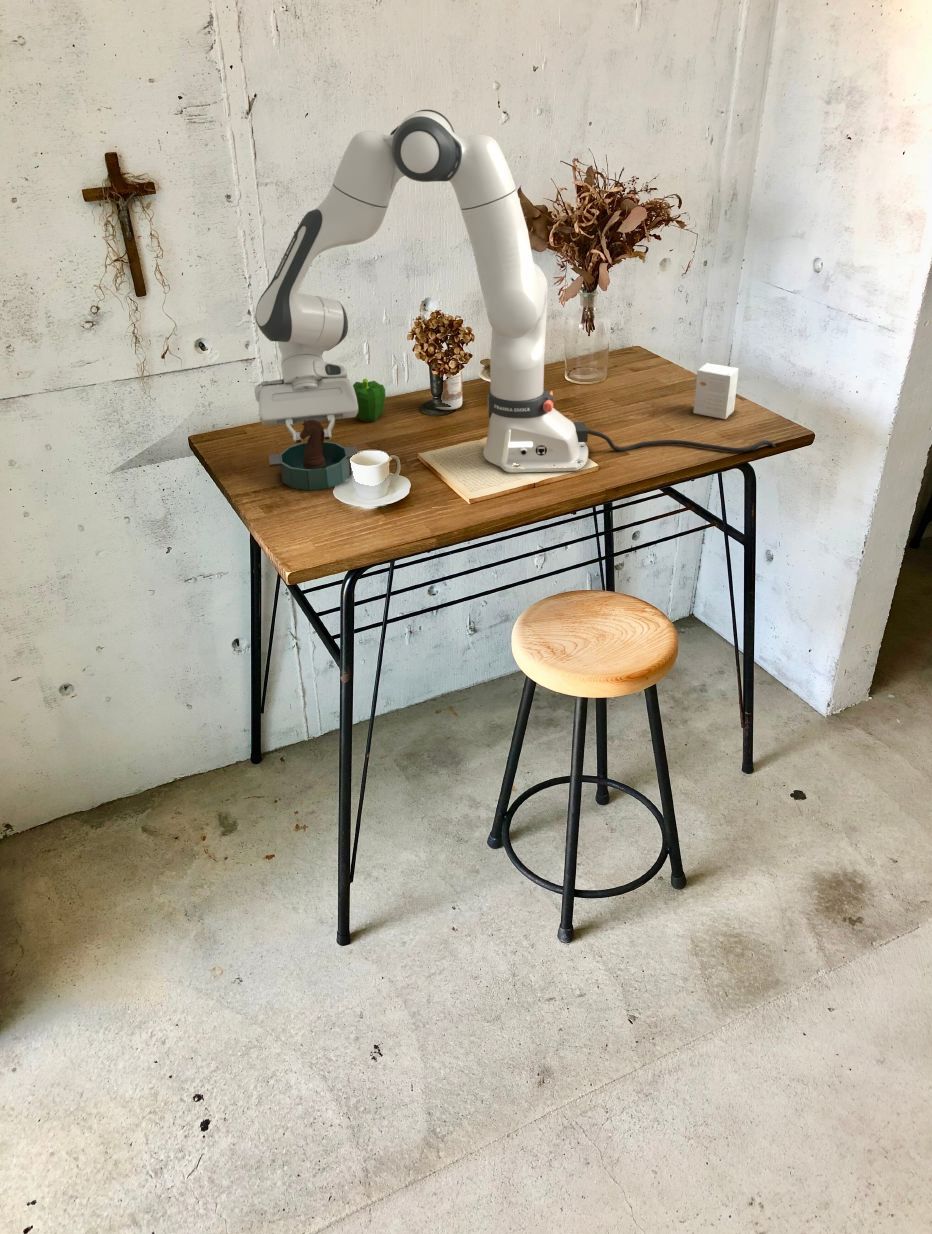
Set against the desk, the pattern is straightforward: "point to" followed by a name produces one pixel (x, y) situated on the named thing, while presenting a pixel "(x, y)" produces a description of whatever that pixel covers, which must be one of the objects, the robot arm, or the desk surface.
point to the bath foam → (452, 392)
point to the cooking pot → (314, 478)
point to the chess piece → (313, 444)
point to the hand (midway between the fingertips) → (313, 440)
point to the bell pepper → (369, 400)
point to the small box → (715, 390)
